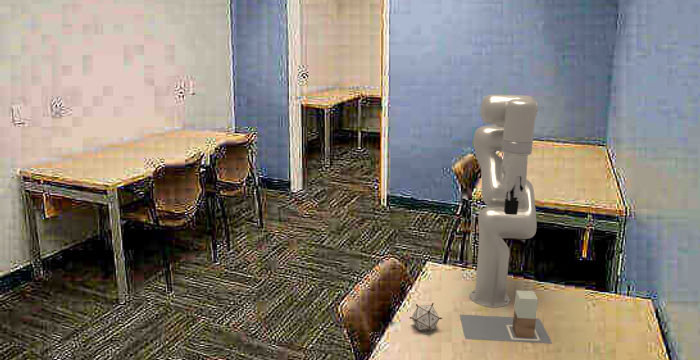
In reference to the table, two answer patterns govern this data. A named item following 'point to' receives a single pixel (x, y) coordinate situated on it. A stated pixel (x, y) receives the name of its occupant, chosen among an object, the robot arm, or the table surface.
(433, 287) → the table surface
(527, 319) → the walnut block
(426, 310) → the game die
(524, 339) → the board
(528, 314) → the sage block
